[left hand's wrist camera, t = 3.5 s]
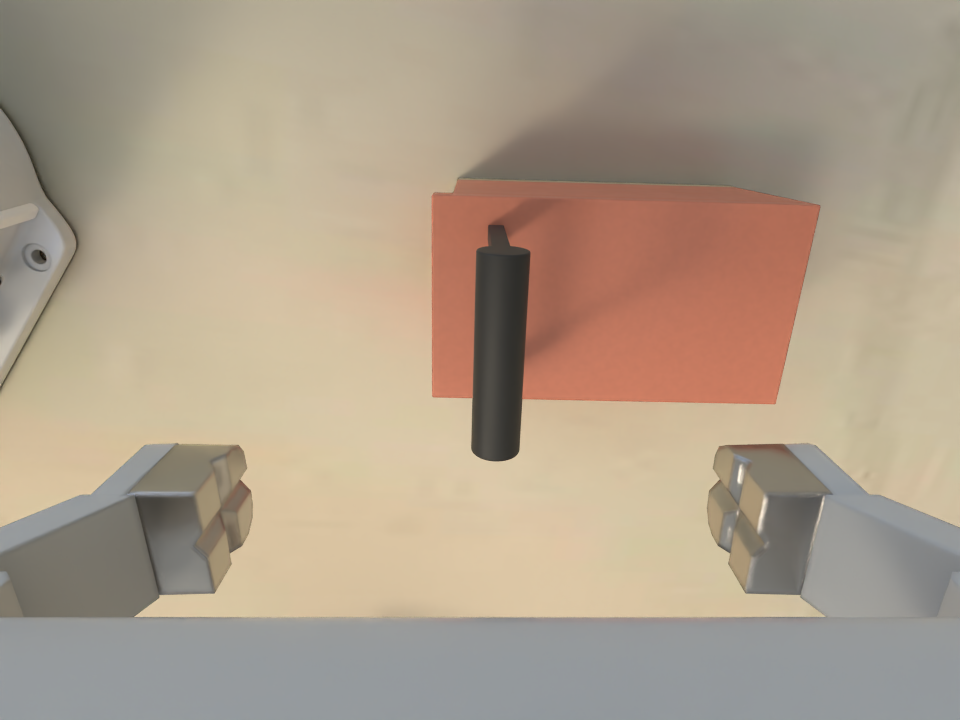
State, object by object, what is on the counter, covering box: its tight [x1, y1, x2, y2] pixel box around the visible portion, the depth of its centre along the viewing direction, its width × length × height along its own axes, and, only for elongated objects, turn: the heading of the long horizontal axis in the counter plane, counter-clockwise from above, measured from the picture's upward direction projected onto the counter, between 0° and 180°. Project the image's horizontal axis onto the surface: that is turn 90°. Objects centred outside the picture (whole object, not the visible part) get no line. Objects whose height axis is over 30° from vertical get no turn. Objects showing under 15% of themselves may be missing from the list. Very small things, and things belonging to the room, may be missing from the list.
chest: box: [453, 178, 802, 202], centre depth 33 cm, size 16×10×9 cm, turn 88°
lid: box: [432, 193, 820, 461], centre depth 24 cm, size 17×10×9 cm, turn 88°
